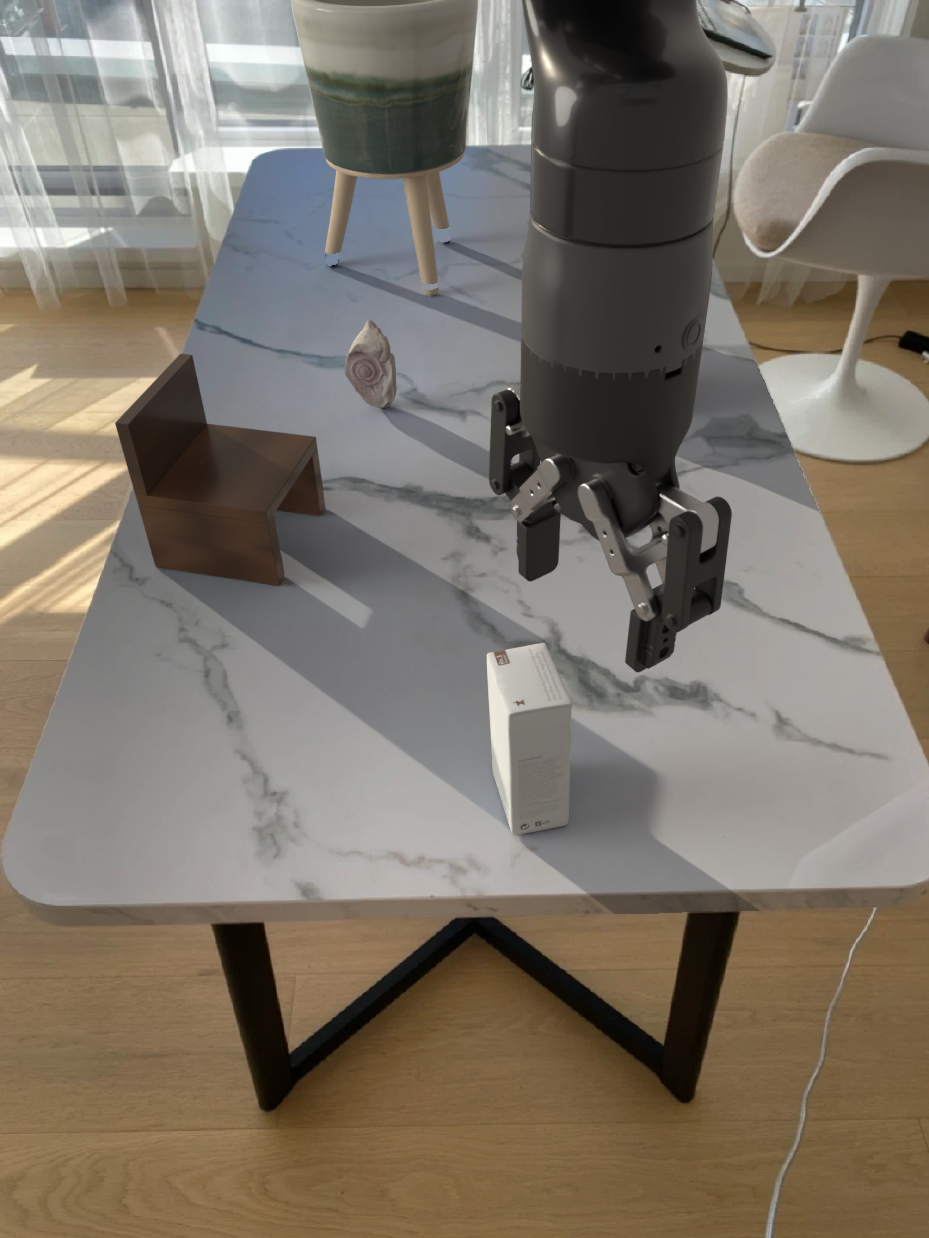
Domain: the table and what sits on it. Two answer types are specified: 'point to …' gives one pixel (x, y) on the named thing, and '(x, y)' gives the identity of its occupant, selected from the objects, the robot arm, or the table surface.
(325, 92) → the planter
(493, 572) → the table surface
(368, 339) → the fossil
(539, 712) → the cosmetic box
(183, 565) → the miniature wooden chair
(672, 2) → the robot arm
